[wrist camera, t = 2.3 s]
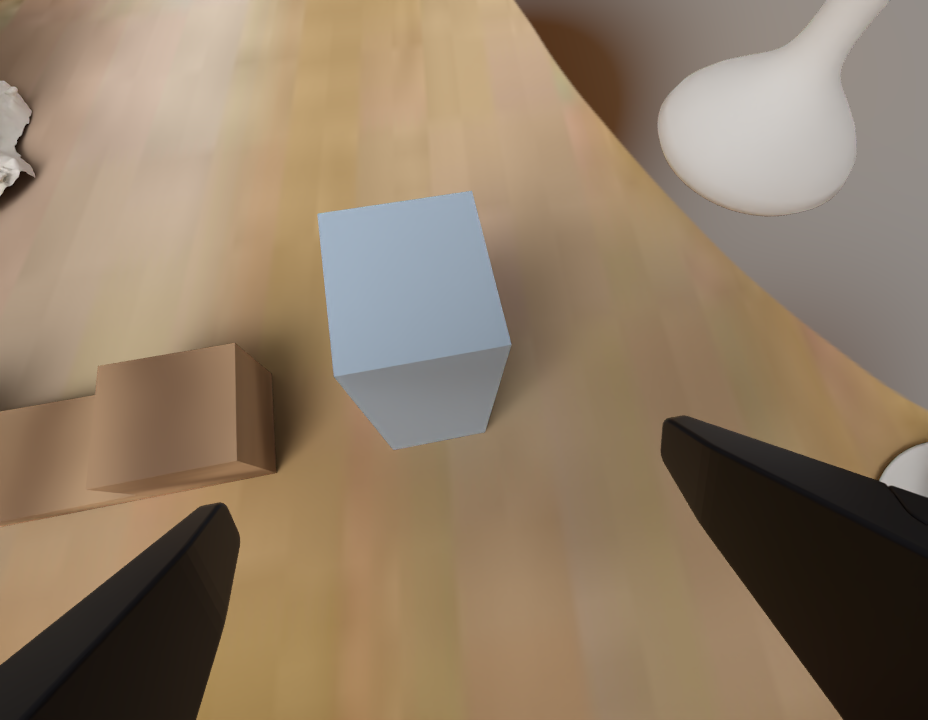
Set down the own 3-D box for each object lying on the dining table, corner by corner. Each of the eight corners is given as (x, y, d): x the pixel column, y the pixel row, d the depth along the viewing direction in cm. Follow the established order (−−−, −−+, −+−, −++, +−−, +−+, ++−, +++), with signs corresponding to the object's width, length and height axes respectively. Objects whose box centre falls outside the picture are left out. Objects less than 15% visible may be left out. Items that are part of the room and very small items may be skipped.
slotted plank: (271, 373, 22) (234, 342, 19) (276, 472, 21) (236, 460, 17) (-128, 444, 21) (-257, 426, 17) (-159, 558, 19) (-309, 565, 15)
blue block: (485, 432, 21) (511, 345, 11) (393, 450, 21) (334, 376, 11) (464, 339, 23) (471, 190, 13) (379, 354, 23) (317, 213, 13)
